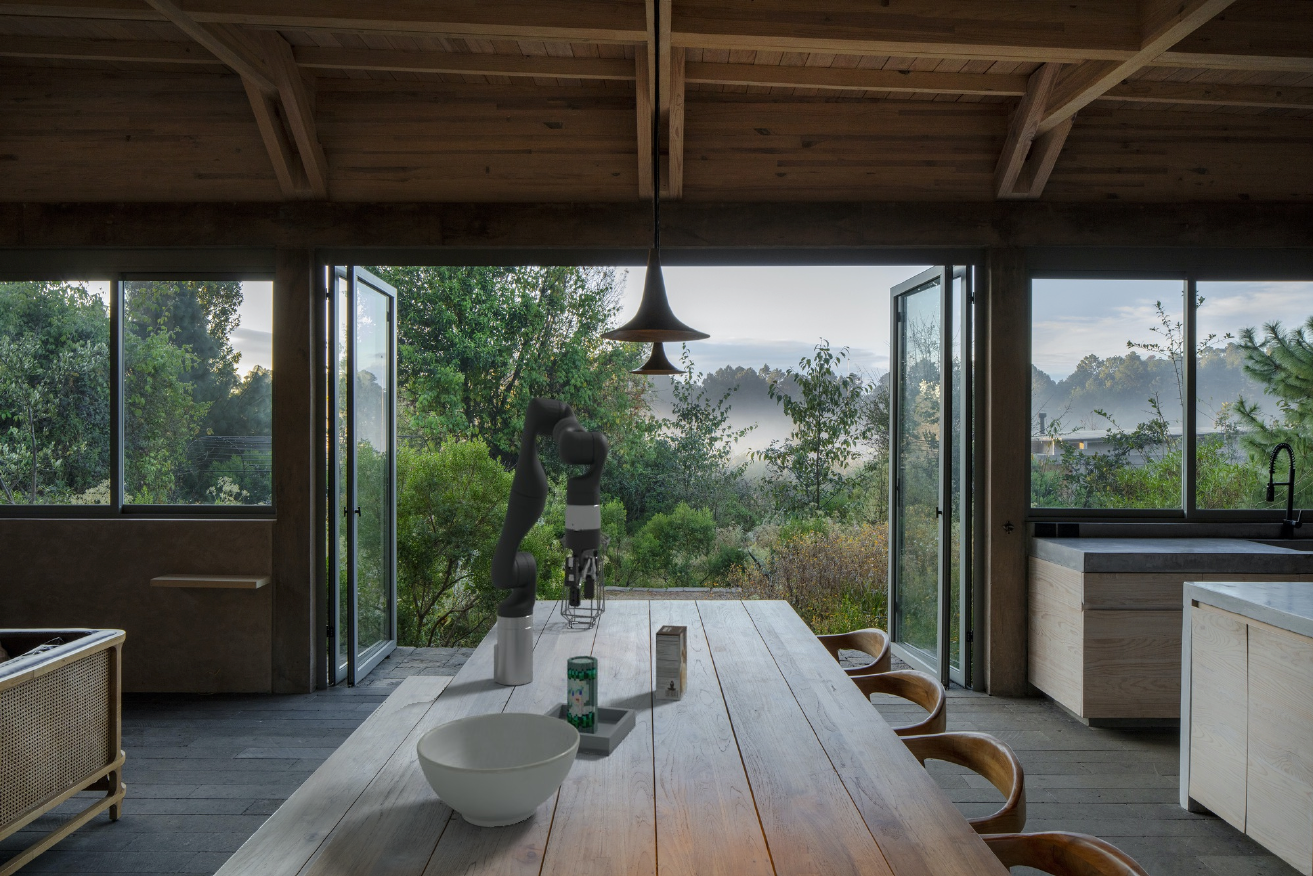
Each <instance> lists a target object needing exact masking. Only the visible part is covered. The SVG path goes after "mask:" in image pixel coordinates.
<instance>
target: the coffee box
mask: <svg viewBox="0 0 1313 876" xmlns="http://www.w3.org/2000/svg"><path fill="white" fill-rule="evenodd" d="M687 633H688V626H687V625H662V626H661V627H660V628H659V629H658V630H657V631H656V633H655V699H656V698H657V700H671V701H681V700H682V698H683V697H684V695H685V693H686V692H687V691H688V685H687V684H688V634H687Z"/></svg>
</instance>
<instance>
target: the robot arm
mask: <svg viewBox="0 0 1313 876" xmlns="http://www.w3.org/2000/svg"><path fill="white" fill-rule="evenodd" d="M525 411H526V412H525V414H524V415H525V417H524V421H523V426H522V427H523V429H522V435H521V440H520V441H521V442H520V447H519V455H518V459H517V462H516V467H515V472H514V476H513V479H512V483H511V488H510V491H509V497H508V502H507V507H506V513H505V517H504V520H503V521H504V522H503V525H502V528H501V532H500V535H499V539H498V541H497V546H496V548H495V551H494V555H493V558H492V560H491V564H490V565H491V566H490V581H491V584H492V585H493V587H494V588H496V589H497V590H500V591H501V590H512V592H511V593H510V594H509V596H507V597H506V598H505V599H503V600H501V601H500V602H499V603H498V604H497V607H496V610H497V611H496V615H497V616H496V643H495V644H494V645H493V683H497V684H500V685H505V686H520V685H521V686H522V685H526V684H529V683H531V682H533V680H534V607H535V604H536V600H537V598H536V597H537V595H536V594H537V582H538V581H537V579H538V569H537V567H538V566H537V562H536V559H535V557H534V556H533V554H532V553H531V552H530V551H529V552H528V551H519V549H520V545H521V544H522V542H523V540H524V538H525V537H526V535H527V534H528V533H529V532H530V531H531V529H532V528H533V527H534V525H536V523H537V522H538V521H539V520H540V518H541V516H542V515H543V512H544V510H545V506H546V503H547V499H548V493H549V487H550V486H549V482H548V478H547V476H546V473H545V471H544V469H543V467H542V464H541V461H540V459H539V456H538V450H537V445H536V444H537V438H538V436H543V437H550V438H553V441H554V442H555V444H556V446H557V447H558V454H559V455H558V456H559V458H560V461H561V462H562V463H563V464H566V465H570V466H571V465H572V466H589V468H588V469H587V471H586V472H585V473H583V474H581V475H576V476H572V477H569V478H568V479H567V481H566V508H565V516H564V517H565V518H564V536H565V538H564V539H565V547H566V550H569V549H570V551H571V553H572V555H571V556H569V557H568V556H567V557H566V559H565V558H564V559H565V561H564V563H565V564H564V577H565V587H566V586H567V587H568V589H569V591H570V605H569V607H571V608H574V607H576V608H580V606H581V605H582V604H581V603H582V602H581V601H582V600H581V599H582V598H581V597H582V596H581V595H582V588H581V586H582V583H583V581H584V583H583V598H584V599H585V600H591V599H592V600H593V599H595V597H596V596H595V595H596V594H595V593H596V588H595V587H596V582H597V579H596V577H598V578H600V564H599V563H600V561H599V560H600V559H599V555H600V550H599V549H600V548H601V544H602V543H601V536H602V534H601V532H602V531H601V527H602V524H601V523H602V521H601V520H602V519H601V507H600V506H601V505H600V504H601V503H600V502H601V501H600V499H601V497H600V494H601V491H600V490H601V481H602V476H603V472H604V468H605V464H606V461H607V460H608V459H607V458H608V455H609V450H610V449H609V441H608V439H607V437H606V436H605V434H604V433H603V432H601V431H600V432H599V431H588V430H587V429H586V428H585V427H584V426H583V425H582V424H580V422H578V418H577V416H576V414H575V412H574V410H573V408H572V407H571V405H570V404H569V403H567V402H565V401H563V400H558V399H551V398H545V397H539V396H535V397H532V398H531V399H530V400H529V402H528V404H527V407H526V410H525ZM595 549H596V550H595Z"/></svg>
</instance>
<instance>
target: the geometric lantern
mask: <svg viewBox="0 0 1313 876" xmlns="http://www.w3.org/2000/svg"><path fill="white" fill-rule="evenodd" d="M603 536H604V537H603ZM611 540H612V538H611V537H610V536H608V535H607V534H606V533H604V532H602V531H601V544H602V550H601V551H600V552H599V577H596V608H593V599H590V608H588V607H570V590H569V588H568V587H567V586H565V576H564V578H563V587H562V594H561V597H562V598H561V604H560V612H559V613H560V616H561V617H563V618H564V619H565V620H566V621H567V622H568V626H569V627H573V624H572V622H578V623H577V624H589V628H590V627H593V625H594V624H593V622H594V623H597V621H596V620H597V619H598V618H599V617H600V616H601V615H603V614H604V613H605V612H606V605H605V604H606V603H605V602H606V600H605V574H604V573H605V572H604V571H605V569H604V560H605V555H606V550H607V549H608V546H609V544H610V541H611ZM558 541H560V543H561V544H562V546H563V548H564V557H565V558H564V559H566V557H568V556H567V548H566V547H565V535H564V536H563V537H561V538H560V539H558ZM568 550H569V553H570V554H571V556H572V550H571V549H568ZM594 550H597V549H594ZM602 552H603V554H602ZM601 555H602V559H601ZM565 590H566V591H565ZM564 597H565V599H564ZM601 597H602V598H601ZM564 601H565V604H564ZM601 601H602V605H603V609H601V606H602V605H601ZM564 605H565V608H564V610H563V607H564ZM570 610H573V614H572V612H571V611H570ZM576 610H585V611H586V610H587V611H590V615H581V614H576ZM567 611H568V613H567ZM593 611H596V613H595V614H594V615H593ZM569 617H570V618H569ZM576 619H590V620H589V621H579V620H578V621H577V620H576ZM570 624H571V626H570ZM593 628H594V627H593Z"/></svg>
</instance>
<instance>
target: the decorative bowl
mask: <svg viewBox="0 0 1313 876" xmlns="http://www.w3.org/2000/svg"><path fill="white" fill-rule="evenodd" d="M579 742H580V735H579V732H578V730H577V729H576V728H575V727H574V726H572V725H571V724H569V723H568V722H566V721H563V720H561V719H558V718H554V717H550V716H546V715H544V714H538V713H531V712H530V713H529V712H528V713H527V712H495V713H484V714H478V715H472V716H468V717H463V718H459V719H455V720H452V721H448V722H445V723H443V724H440V725H438V726H436V727H434V728H431V729H430V730H429V731H427V732H426V733H424V734H423V735H422V736H421V738H419V740H418V741H417V743H416V754H417V759H418V762H419V765H420V768H421V770H422V773H423V775H424V777H425V779H426V781H427V782H428V785H429V786H430V788H431V789H432V791H433V792H434V793H435V794H436V796H437V797H438V798H439V799H440V800H441V801H442V802H443V803H445V805H447V806H448V807H450V808H451V809H453V810H454V811H456V812H458V813H459V814H461V817H462V818H463V819H464V820H465V821H466V822H467V823H469V824H471V825H473V826H474V825H475V826H477V827H478V826H479V827H484V828H495V827H494V826H503V825H509V824H513V825H516V824H515V823H517V822H520V821H522V820H524V821H527V820H528V819H530V818H531V817H532V816H533V815H534V814H535V813H536V812H537V808H538V807H540V806H542V805H543V804H544V803H546V802H547V801H548V800H549V799H550V798H551V797H552V796H553V795H554V794H555V793H556V792H557V791H558V790H559V788H560V787H561V786H562V784H563V783H564V781H565V779H566V778H567V776H568V774H569V773H570V770H571V769H572V767H573V765H574V762H575V759H576V758H577V757H576V756H577V753H578V752H577V751H578V747H579ZM534 812H535V813H534ZM531 815H532V816H531ZM530 816H531V817H530ZM529 817H530V818H529ZM527 818H528V819H527ZM522 822H523V821H522ZM520 823H521V822H520ZM517 824H518V823H517ZM509 826H510V825H509ZM503 827H504V826H503Z"/></svg>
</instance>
